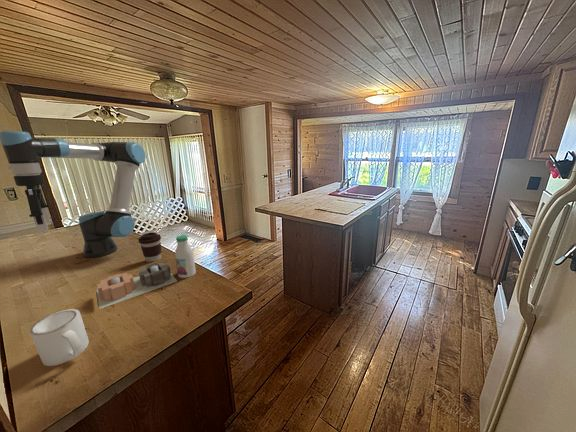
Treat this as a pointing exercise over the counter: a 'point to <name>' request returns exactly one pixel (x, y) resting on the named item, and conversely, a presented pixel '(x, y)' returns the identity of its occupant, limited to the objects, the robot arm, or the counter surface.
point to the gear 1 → (116, 287)
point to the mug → (60, 337)
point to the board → (137, 291)
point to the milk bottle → (184, 258)
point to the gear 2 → (155, 275)
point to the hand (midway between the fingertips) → (45, 227)
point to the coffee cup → (151, 246)
